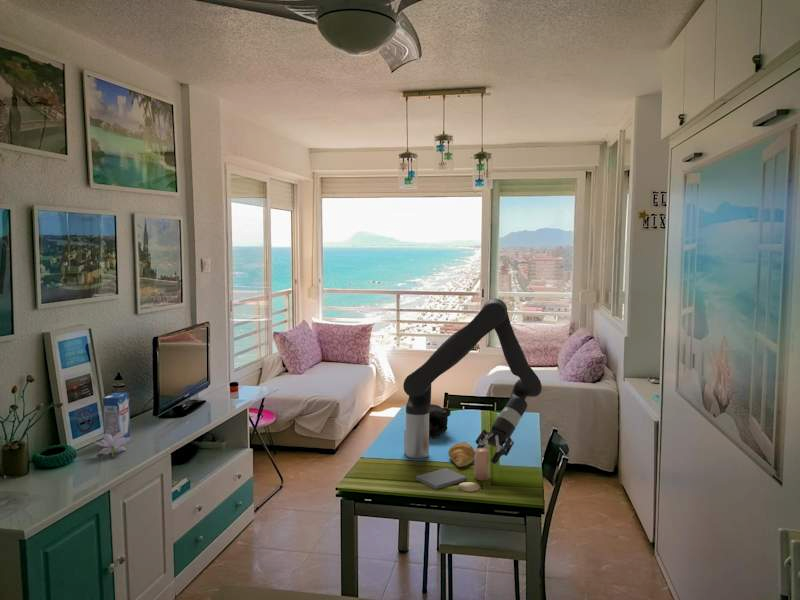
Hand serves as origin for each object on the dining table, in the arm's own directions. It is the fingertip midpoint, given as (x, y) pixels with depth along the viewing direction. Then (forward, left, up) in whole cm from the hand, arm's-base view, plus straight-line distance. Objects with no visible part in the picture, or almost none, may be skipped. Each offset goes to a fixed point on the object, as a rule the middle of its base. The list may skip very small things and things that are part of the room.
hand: (484, 459), depth 210 cm
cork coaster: (+4, -11, -6) cm, 13 cm away
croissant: (-19, +6, -7) cm, 21 cm away
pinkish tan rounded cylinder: (0, -1, -7) cm, 7 cm away
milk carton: (-121, -96, -7) cm, 155 cm away
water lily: (-105, -100, -7) cm, 145 cm away
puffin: (-52, +20, -7) cm, 56 cm away
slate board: (-7, -14, -6) cm, 17 cm away
